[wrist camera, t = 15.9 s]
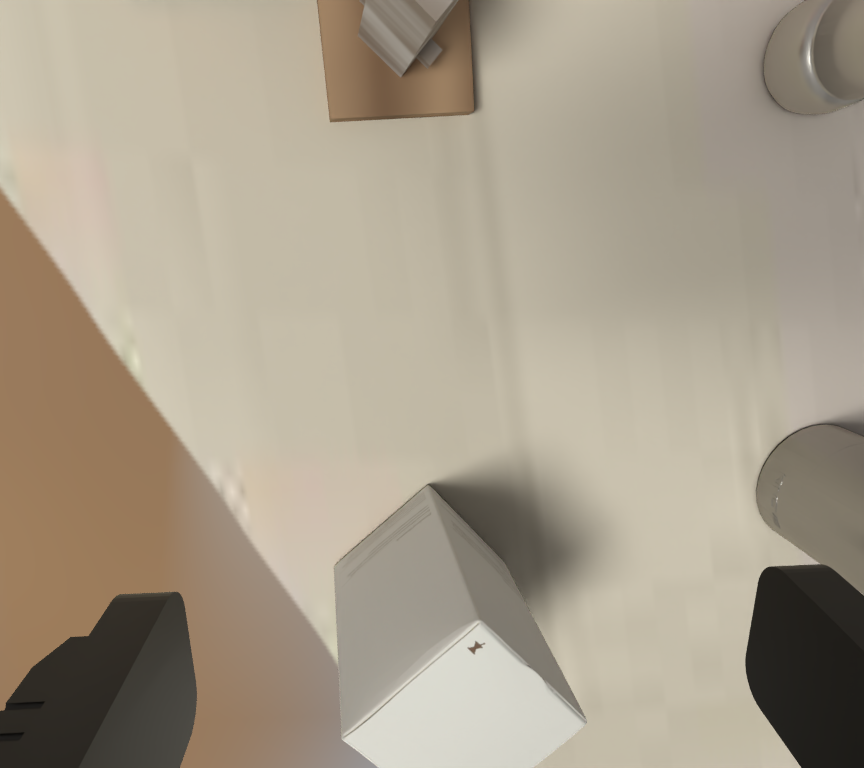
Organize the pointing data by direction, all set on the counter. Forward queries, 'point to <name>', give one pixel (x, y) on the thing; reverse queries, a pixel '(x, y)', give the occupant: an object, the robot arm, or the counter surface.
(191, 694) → the robot arm
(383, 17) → the post stand
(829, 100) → the plastic bottle
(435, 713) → the supplement box
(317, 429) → the counter surface
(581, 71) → the counter surface
